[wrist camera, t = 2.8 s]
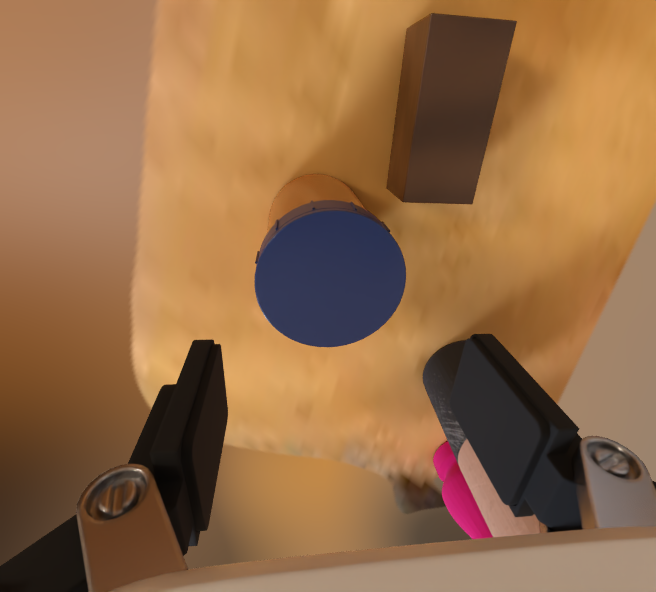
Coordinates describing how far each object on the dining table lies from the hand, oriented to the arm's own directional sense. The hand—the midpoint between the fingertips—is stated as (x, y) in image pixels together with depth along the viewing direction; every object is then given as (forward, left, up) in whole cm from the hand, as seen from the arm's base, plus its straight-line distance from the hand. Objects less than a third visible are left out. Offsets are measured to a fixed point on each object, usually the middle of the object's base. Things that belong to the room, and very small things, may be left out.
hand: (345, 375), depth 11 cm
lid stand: (-7, +7, -16) cm, 19 cm away
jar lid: (0, 0, -6) cm, 6 cm away
